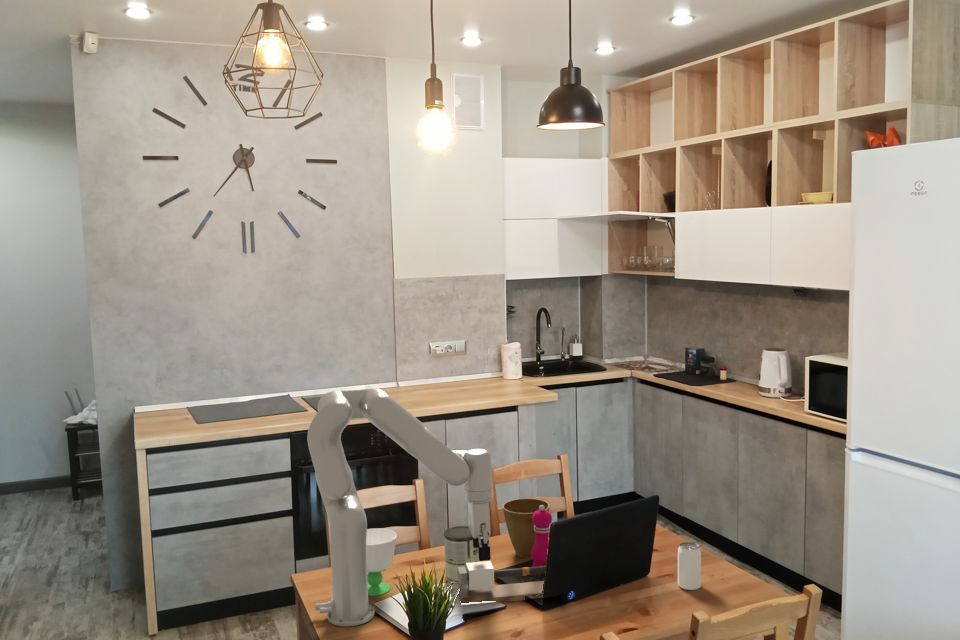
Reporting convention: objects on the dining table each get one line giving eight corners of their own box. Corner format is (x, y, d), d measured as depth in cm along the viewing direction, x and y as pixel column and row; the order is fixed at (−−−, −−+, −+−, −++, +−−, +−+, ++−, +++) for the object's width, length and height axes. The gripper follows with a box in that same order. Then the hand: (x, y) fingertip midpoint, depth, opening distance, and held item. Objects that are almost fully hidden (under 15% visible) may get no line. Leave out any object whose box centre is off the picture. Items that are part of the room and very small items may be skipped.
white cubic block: (469, 590, 222) (469, 570, 221) (466, 582, 227) (466, 562, 227) (494, 588, 223) (493, 568, 222) (490, 579, 228) (490, 560, 228)
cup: (390, 601, 224) (388, 546, 223) (344, 597, 227) (342, 543, 226) (404, 581, 238) (403, 529, 236) (360, 578, 240) (358, 527, 239)
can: (686, 592, 226) (686, 551, 225) (673, 583, 232) (673, 543, 231) (705, 588, 228) (705, 547, 227) (691, 579, 234) (691, 540, 233)
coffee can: (447, 570, 245) (446, 525, 244) (481, 570, 244) (480, 525, 243) (442, 584, 235) (441, 537, 234) (477, 585, 234) (476, 538, 233)
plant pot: (528, 541, 267) (527, 495, 266) (559, 554, 256) (559, 505, 255) (494, 553, 258) (493, 504, 257) (525, 566, 247) (524, 516, 245)
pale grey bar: (461, 605, 220) (460, 576, 220) (457, 593, 228) (456, 564, 227) (560, 596, 225) (559, 567, 224) (552, 585, 233) (552, 556, 232)
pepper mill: (534, 574, 240) (533, 509, 239) (528, 565, 247) (527, 502, 246) (557, 572, 242) (556, 507, 240) (550, 563, 249) (550, 500, 247)
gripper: (461, 486, 231) (464, 543, 232) (470, 505, 214) (473, 567, 215) (486, 483, 232) (489, 541, 233) (498, 502, 215) (500, 564, 216)
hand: (481, 553), depth 224 cm, fingers open, 9 cm apart
